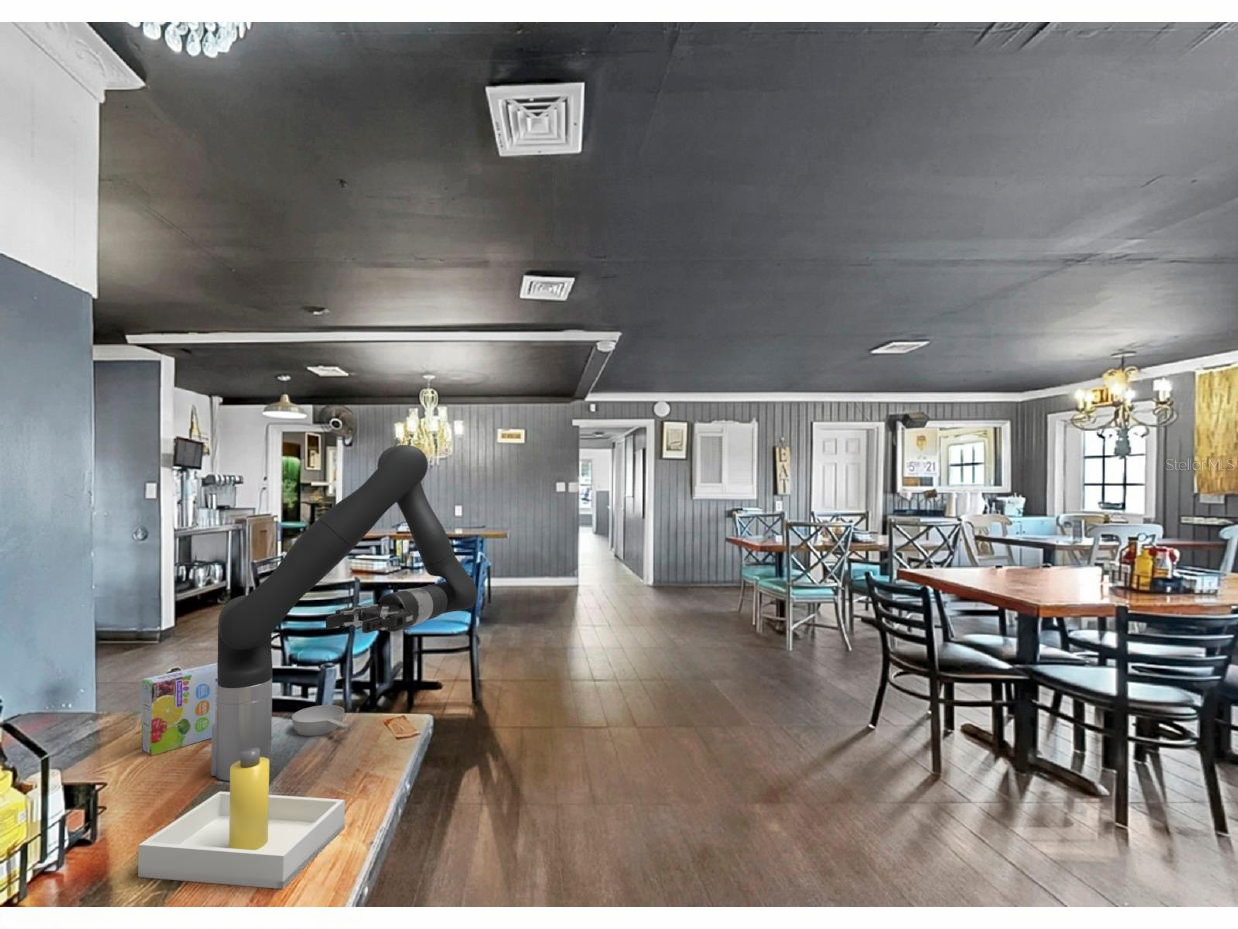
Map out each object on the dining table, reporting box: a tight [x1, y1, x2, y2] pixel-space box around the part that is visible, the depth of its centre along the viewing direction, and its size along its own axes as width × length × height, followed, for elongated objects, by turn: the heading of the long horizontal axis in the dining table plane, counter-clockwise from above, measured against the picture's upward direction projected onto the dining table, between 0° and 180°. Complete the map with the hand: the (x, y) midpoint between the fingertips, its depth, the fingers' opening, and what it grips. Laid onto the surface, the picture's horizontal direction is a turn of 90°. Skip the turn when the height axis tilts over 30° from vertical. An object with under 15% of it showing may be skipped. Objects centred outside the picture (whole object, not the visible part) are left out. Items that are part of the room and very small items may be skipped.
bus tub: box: [137, 791, 346, 890], centre depth 100 cm, size 22×16×4 cm
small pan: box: [291, 704, 349, 737], centre depth 147 cm, size 11×18×4 cm, turn 50°
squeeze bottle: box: [229, 748, 270, 850], centre depth 101 cm, size 5×5×14 cm
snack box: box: [141, 662, 218, 756], centre depth 144 cm, size 21×6×15 cm, turn 144°
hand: (345, 625), depth 119 cm, fingers open, 8 cm apart
